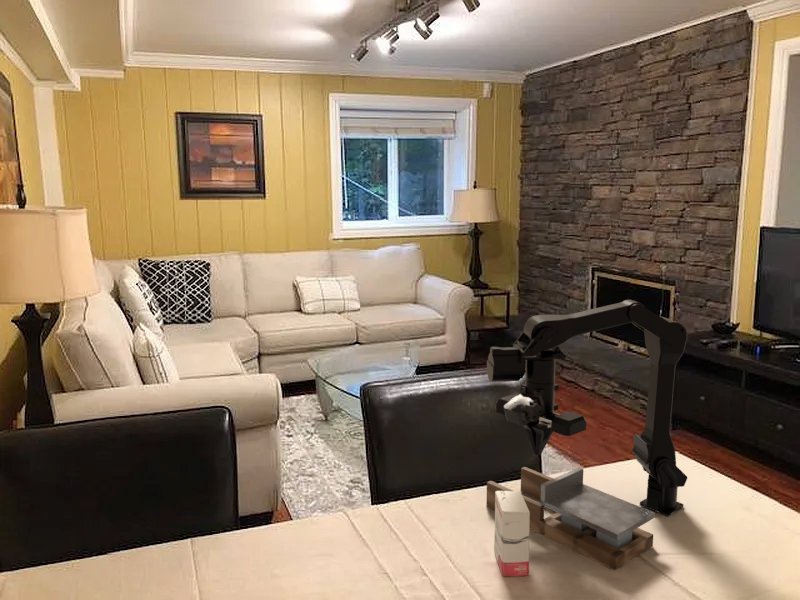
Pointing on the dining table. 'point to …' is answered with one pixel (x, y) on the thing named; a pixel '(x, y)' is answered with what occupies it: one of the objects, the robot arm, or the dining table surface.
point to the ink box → (512, 533)
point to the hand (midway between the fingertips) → (537, 454)
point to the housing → (569, 535)
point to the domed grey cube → (614, 542)
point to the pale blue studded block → (574, 523)
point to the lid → (592, 505)
